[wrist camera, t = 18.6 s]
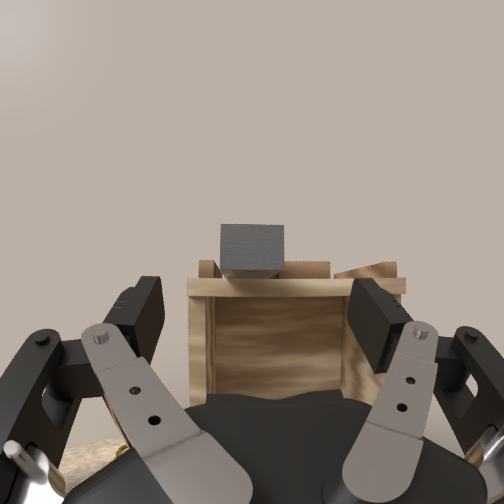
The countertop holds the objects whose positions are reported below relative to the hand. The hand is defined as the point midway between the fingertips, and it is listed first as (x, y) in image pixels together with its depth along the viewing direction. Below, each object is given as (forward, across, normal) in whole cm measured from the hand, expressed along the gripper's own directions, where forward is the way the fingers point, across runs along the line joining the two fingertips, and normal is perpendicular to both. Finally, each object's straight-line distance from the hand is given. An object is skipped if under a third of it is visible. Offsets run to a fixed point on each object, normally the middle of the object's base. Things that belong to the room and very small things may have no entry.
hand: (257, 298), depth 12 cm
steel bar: (+15, 0, +7) cm, 16 cm away
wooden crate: (+4, -5, +36) cm, 37 cm away
